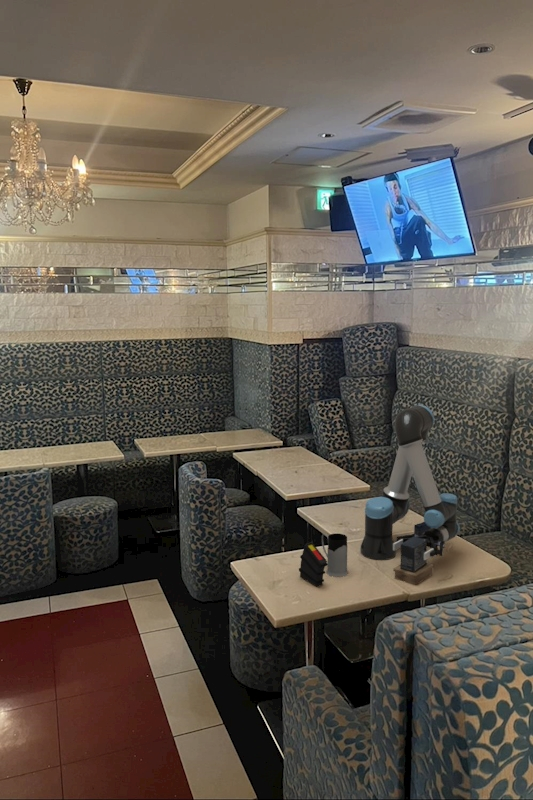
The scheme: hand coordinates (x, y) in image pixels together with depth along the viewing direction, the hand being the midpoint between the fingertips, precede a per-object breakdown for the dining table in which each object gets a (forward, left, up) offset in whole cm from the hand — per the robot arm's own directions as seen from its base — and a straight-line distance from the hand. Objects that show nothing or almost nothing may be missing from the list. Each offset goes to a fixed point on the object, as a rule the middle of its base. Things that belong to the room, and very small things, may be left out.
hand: (408, 551), depth 240 cm
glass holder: (-27, -13, -12) cm, 32 cm away
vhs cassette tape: (-13, +40, -12) cm, 44 cm away
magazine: (-26, -27, -12) cm, 39 cm away
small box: (0, +4, -8) cm, 9 cm away
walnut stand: (0, +4, -11) cm, 12 cm away
